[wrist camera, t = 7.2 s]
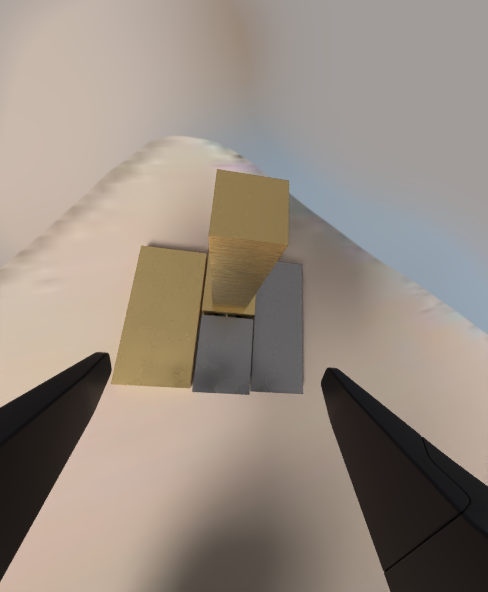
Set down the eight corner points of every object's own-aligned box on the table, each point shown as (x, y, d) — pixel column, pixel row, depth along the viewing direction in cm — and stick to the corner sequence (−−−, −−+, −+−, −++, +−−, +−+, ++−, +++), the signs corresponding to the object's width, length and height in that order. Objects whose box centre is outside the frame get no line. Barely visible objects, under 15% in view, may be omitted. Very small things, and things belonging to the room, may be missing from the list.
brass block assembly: (244, 389, 19) (316, 470, 5) (116, 382, 18) (-185, 463, 4) (252, 263, 22) (308, 121, 9) (144, 250, 21) (22, 66, 8)
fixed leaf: (298, 392, 19) (312, 397, 17) (195, 386, 18) (192, 391, 16) (298, 242, 24) (308, 228, 21) (214, 231, 23) (213, 215, 20)
